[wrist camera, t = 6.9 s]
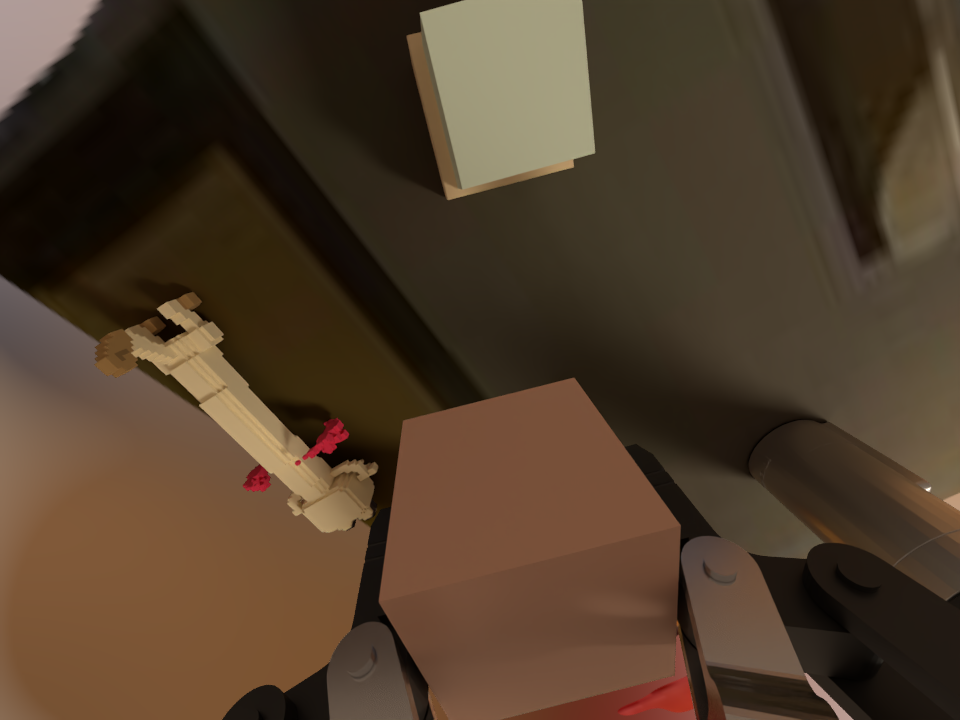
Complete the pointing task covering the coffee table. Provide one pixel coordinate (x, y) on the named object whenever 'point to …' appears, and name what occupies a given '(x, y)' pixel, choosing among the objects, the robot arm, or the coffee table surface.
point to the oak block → (439, 136)
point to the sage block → (509, 85)
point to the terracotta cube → (528, 556)
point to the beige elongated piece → (247, 417)
